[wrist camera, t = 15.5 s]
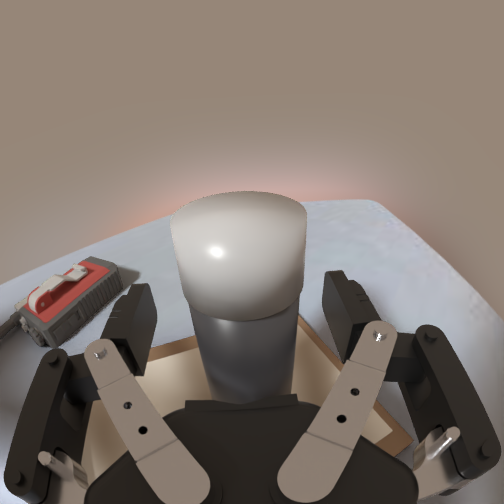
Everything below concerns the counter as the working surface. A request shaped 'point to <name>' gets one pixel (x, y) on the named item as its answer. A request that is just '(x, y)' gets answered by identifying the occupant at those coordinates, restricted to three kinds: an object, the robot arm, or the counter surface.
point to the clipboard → (196, 388)
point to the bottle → (243, 288)
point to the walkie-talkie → (65, 301)
